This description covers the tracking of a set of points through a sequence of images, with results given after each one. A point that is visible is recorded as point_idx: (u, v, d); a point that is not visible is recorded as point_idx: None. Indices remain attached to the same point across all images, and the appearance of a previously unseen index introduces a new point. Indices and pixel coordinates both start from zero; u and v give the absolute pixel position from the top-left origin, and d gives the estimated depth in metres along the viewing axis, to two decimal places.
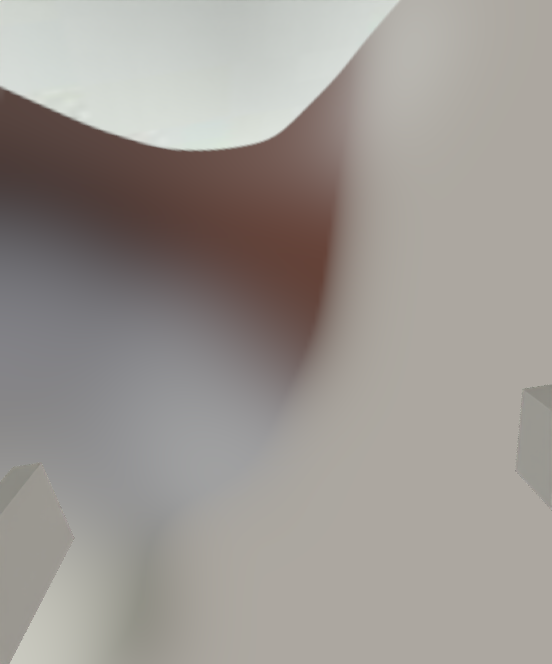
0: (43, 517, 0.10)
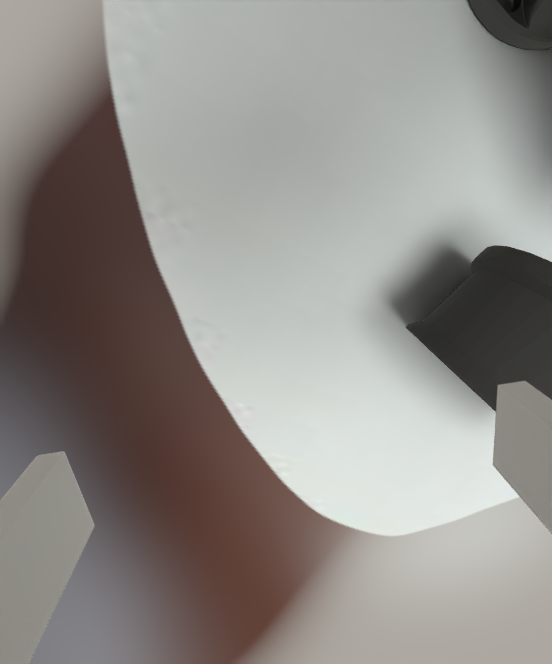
0: (66, 504, 0.10)
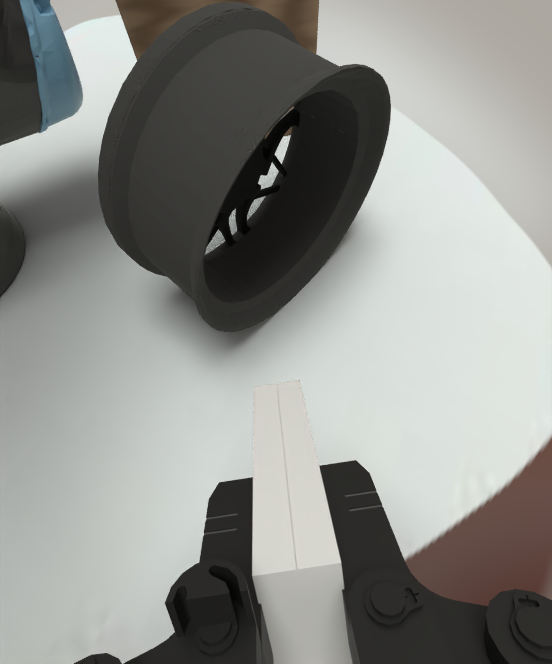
0: None
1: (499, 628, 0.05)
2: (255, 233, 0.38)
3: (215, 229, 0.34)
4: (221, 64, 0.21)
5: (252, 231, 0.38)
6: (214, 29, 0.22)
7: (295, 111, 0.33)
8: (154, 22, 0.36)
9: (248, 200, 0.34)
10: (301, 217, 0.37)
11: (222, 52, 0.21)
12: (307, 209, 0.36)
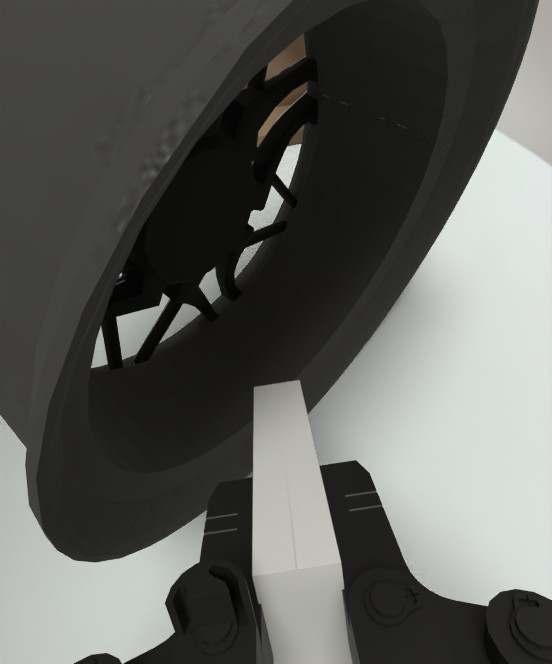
0: None
1: (499, 628, 0.05)
2: (249, 300, 0.23)
3: (178, 305, 0.20)
4: None
5: (244, 297, 0.23)
6: None
7: (310, 98, 0.19)
8: None
9: (233, 253, 0.20)
10: (324, 274, 0.22)
11: None
12: (333, 261, 0.22)
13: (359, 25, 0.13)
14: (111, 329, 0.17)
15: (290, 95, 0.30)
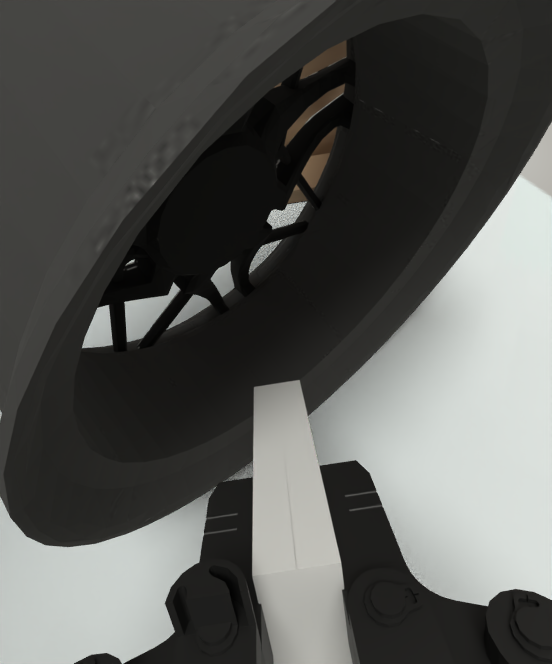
0: None
1: (499, 628, 0.05)
2: (260, 297, 0.23)
3: (189, 295, 0.20)
4: None
5: (256, 293, 0.23)
6: None
7: (346, 100, 0.19)
8: None
9: (248, 250, 0.20)
10: (338, 281, 0.22)
11: None
12: (350, 269, 0.21)
13: (401, 33, 0.12)
14: (118, 313, 0.17)
15: None
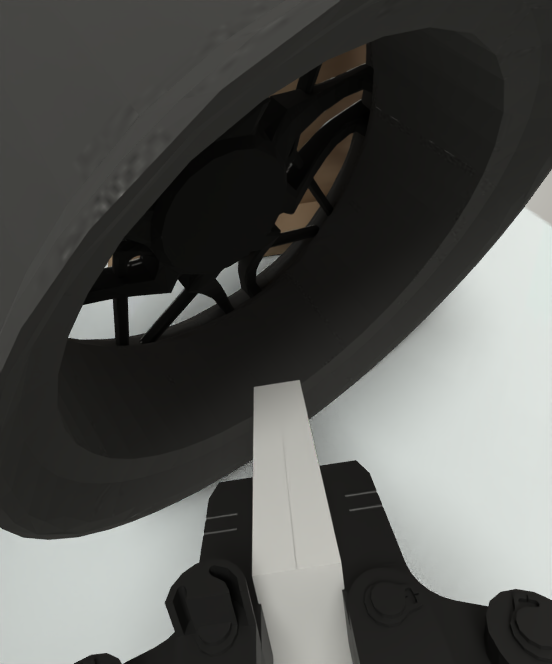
0: None
1: (499, 628, 0.05)
2: (266, 300, 0.23)
3: (193, 293, 0.20)
4: None
5: (262, 295, 0.23)
6: None
7: (363, 107, 0.18)
8: None
9: (255, 252, 0.20)
10: (345, 288, 0.21)
11: None
12: (357, 277, 0.21)
13: (419, 43, 0.12)
14: (121, 307, 0.17)
15: None
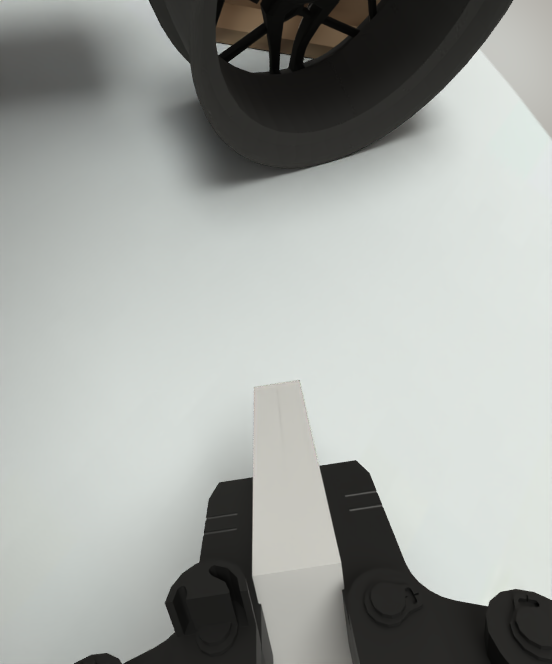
0: None
1: (499, 628, 0.05)
2: (307, 74, 0.30)
3: (263, 31, 0.27)
4: None
5: (305, 70, 0.30)
6: None
7: None
8: None
9: (317, 12, 0.26)
10: (368, 75, 0.29)
11: None
12: (380, 66, 0.28)
13: None
14: (219, 3, 0.24)
15: None
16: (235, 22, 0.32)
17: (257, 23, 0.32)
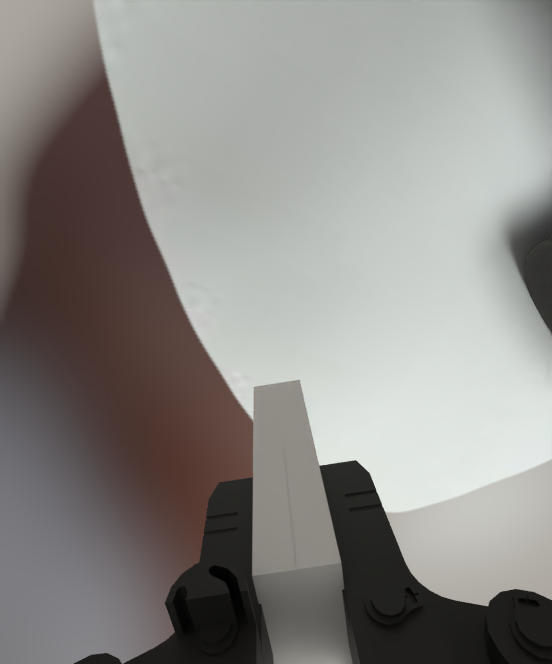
0: None
1: (499, 628, 0.05)
2: None
3: None
4: None
5: None
6: None
7: None
8: None
9: None
10: None
11: None
12: None
13: None
14: None
15: None
16: None
17: None
